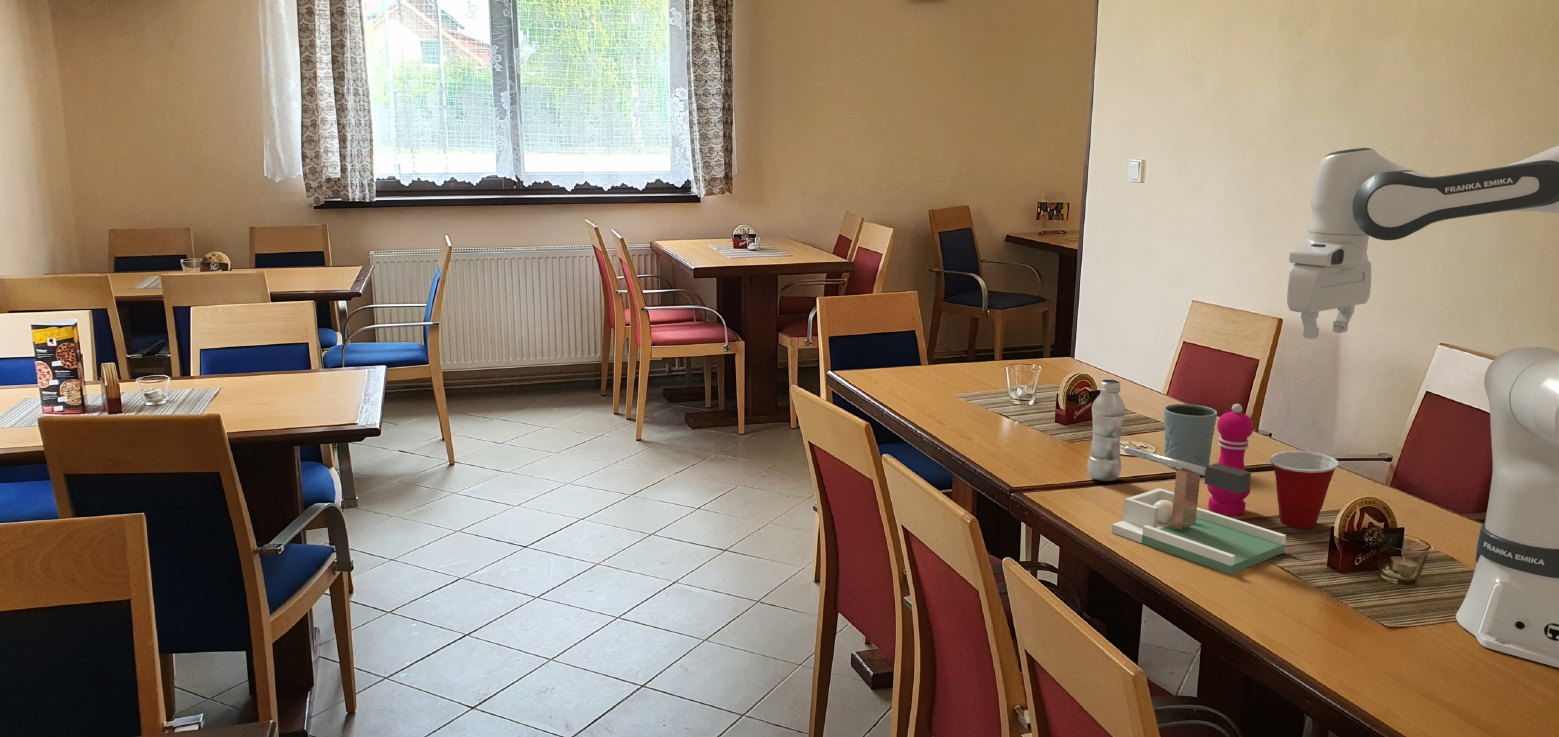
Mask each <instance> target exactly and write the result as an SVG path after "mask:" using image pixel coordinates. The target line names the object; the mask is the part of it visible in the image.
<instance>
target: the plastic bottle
mask: <svg viewBox="0 0 1559 737" xmlns="http://www.w3.org/2000/svg"><path fill="white" fill-rule="evenodd" d="M1099 390H1100V391H1101V392H1100V394H1098V396H1097V397H1096V398H1095V400H1094V401H1092V402H1093V403H1092V405H1091V415H1092V416H1091V418H1092V441H1091V447H1090V452H1089V453H1090V454H1089V455H1088V460H1087V466H1086V467H1087V474H1088V475H1089V477H1090V478H1091V479H1093V480H1098V481H1100V482H1101V481H1102V482H1110V481H1116V480H1117V479H1118V478H1119V477H1120V474H1121V472H1122V460H1121V434H1122V428H1123V425H1124V419H1125V415H1126V405H1125V403H1124V400H1123V399H1122V397H1121V395H1120V394H1119V393H1120V392H1121V381H1120V380H1116V379H1101V381H1100V387H1099Z"/></svg>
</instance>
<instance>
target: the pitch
mask: <svg viewBox="0 0 1559 737" xmlns="http://www.w3.org/2000/svg"><path fill="white" fill-rule="evenodd" d="M1160 500H1168V501H1170V502H1172V503H1173V501H1174V491H1170V490H1167V489H1164V488H1160V487H1159V488H1156V489H1155V488H1154V489H1152V490H1149V491H1145V492H1143V493H1140V494H1136V495H1132V496H1129V497H1127V498H1124V504H1123V505H1124V506H1123V515H1122V516H1123V518H1122V521H1118V522H1115V523H1111V533H1112V534H1114V535H1118V536H1120V537H1123V538H1126V539H1129V540H1132V541H1135V542H1136V543H1140V544H1142V545H1145V546H1149V547H1150V548H1154V549H1156V550H1160V551H1161V552H1162V551H1163V552H1165V553H1168V554H1170V555H1171V554H1172V555H1174V556H1175V557H1179V558H1181V559H1184V560H1186V561H1191V562H1193V563H1196V564H1198V565H1201V566H1203V567H1207V568H1210V569H1213V570H1215V571H1218V572H1221V573H1224V574H1226V575H1228V576H1230V575H1233V574H1236V573H1238V572H1240V571H1243V570H1245V569H1248V568H1250V567H1252V566H1254V565H1257V564H1260V563H1262V562H1264V561H1266V560H1269V559H1271V558H1273V557H1276V556H1278V555H1281V554H1284V553H1285V548H1286V539H1287V534H1284V533H1282V532H1277V531H1275V530H1271V529H1269V528H1268V529H1267V528H1264V527H1261V526H1259V525H1255V524H1252V523H1249V522H1246V521H1242V520H1239V519H1236V518H1233V517H1229V516H1228V515H1223V514H1219V513H1216V512H1213V511H1211V510H1209V509H1208V510H1207V509H1204V508H1201V507H1197V513H1196V523H1195V525H1193V526H1190V527H1187V528H1184V529H1179V528H1176V527H1173V526H1171V522H1172V521H1171V522H1169V523H1160V522H1158V521H1157V520H1158V509H1159V507H1156V506H1153V505H1154V504H1155V503H1156V502H1157V501H1160Z"/></svg>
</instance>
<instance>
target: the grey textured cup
mask: <svg viewBox="0 0 1559 737" xmlns="http://www.w3.org/2000/svg"><path fill="white" fill-rule="evenodd" d="M1163 412H1164V413H1163V414H1164V416H1163V417H1164V421H1163V422H1164V456H1166V457H1169V458H1173V459H1177V460H1180V461H1184V462H1187V463H1191V464H1195V465H1198V466H1202V467H1205V468H1206V466H1209V465H1210V459H1211V453H1212V451H1211V450H1212V445H1213V439H1214V434H1215V426H1216V422H1217V421H1216V420H1217V417H1218V411H1217V410H1215V409H1214V408H1211V407H1208V406H1204V405H1198V404H1189V403H1175V404H1170V405H1166V406H1165V407H1164V408H1163ZM1165 466H1167V467H1168V468H1170V469H1173V470H1175V471H1177V470H1180V469H1178V468H1175V467H1171V466H1168V465H1165Z"/></svg>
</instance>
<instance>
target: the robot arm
mask: <svg viewBox="0 0 1559 737" xmlns="http://www.w3.org/2000/svg"><path fill="white" fill-rule="evenodd" d="M1310 202H1311V203H1310V206H1311V211H1312V214H1311V220H1310V223H1309V225H1308V228H1307V235H1306V238H1305V239H1303V240H1302V242H1300V243H1299V244H1297V245H1296V246H1295V247H1293V248H1292V249H1291V250H1290V251H1289V257H1288V260H1289V263H1291V264H1293V265H1292V266H1291V267H1290V269H1289V274H1288V279H1287V280H1288V281H1287V282H1288V283H1287V292H1286V293H1287V294H1286V302H1287V303H1286V304H1287V307H1288V309H1289V311H1291V312H1295V313H1300V314H1301V315H1300V318H1301V322H1302V325H1303V326H1302V327H1303V334H1302V336H1303V338H1305V339H1309V340H1311V339H1312V340H1313V339H1317V338H1319V332H1320V327H1318V324H1317V319H1318V318H1319V314H1320V313H1319V312H1324V311H1328V310H1336V309H1337V311H1338V312H1337V316H1336V320H1334V321H1333V322H1332V323H1333V324H1332V331H1333V332H1334V333H1338V334H1343V333H1347V332H1348V330H1349V323H1350V320H1351V319H1352V316H1353V315H1354V312H1355V307H1356V306H1359V305H1365V304H1367V302H1368V300H1369V299H1370V296H1371V289H1372V287H1371V286H1372V264H1371V262H1370V261H1369V260H1368V247H1369V246H1368V245H1369V239H1370V238H1369V237H1371V238H1374V239H1377V240H1380V241H1395V240H1396V241H1397V240H1399V239H1400V240H1401V239H1404V238H1406V237H1409V236H1411V235H1412V234H1414V233H1416V232H1419V231H1421V230H1423V229H1425V228H1427V227H1428V226H1430V225H1432V224H1434V223H1438V222H1441V221H1447V220H1452V219H1458V218H1459V219H1460V218H1465V217H1466V218H1467V217H1473V216H1480V215H1486V214H1488V215H1489V214H1493V213H1499V212H1500V213H1502V212H1516V211H1517V212H1518V211H1519V212H1520V211H1522V212H1524V211H1525V212H1539V213H1540V212H1541V213H1550V214H1552V213H1553V214H1559V145H1556V146H1553V147H1551V148H1548V149H1546V150H1544V151H1541V152H1539V153H1537V154H1534V155H1532V156H1529V157H1527V158H1525V159H1522V160H1519V161H1516V162H1513V163H1509V164H1506V165H1502V166H1497V167H1493V168H1486V169H1480V170H1474V171H1469V172H1467V171H1466V172H1463V173H1462V172H1461V173H1454V174H1448V175H1441V176H1440V175H1439V176H1429V175H1428V174H1425V173H1422V172H1419V171H1417V170H1413V169H1410V168H1407V167H1404V166H1402V165H1399V164H1397V163H1395V162H1393V161H1391V160H1389V159H1387V158H1385V157H1383V155H1380V154H1379V153H1378V152H1377V151H1376V150H1375V149H1373V148H1370V147H1359V148H1358V147H1357V148H1351V149H1350V148H1349V149H1343V150H1342V149H1341V150H1338V151H1333V152H1329V154H1326V155H1325V156H1324V157H1323V158H1321V160H1320V161H1319V164H1318V166H1317V169H1316V173H1315V177H1314V183H1313V187H1312V194H1311V199H1310ZM1483 383H1484V384H1483V385H1484V390H1485V392H1486V396H1487V399H1488V404H1489V416H1490V418H1489V419H1490V437H1491V438H1490V439H1491V453H1492V470H1491V471H1492V474H1491V482H1490V490H1489V496H1488V497H1489V498H1488V504H1487V509H1486V516H1485V521H1484V523H1482V524H1481V526H1480V529H1479V533H1478V536H1477V541H1476V546H1475V554H1476V555H1475V563H1476V566H1475V569H1474V572H1473V576H1472V578H1471V582H1470V585H1469V588H1468V591H1467V593H1466V595H1465V597H1464V599H1463V602H1462V603H1461V605H1460V607H1459V609H1458V611H1457V613H1456V614H1455V619H1456V621H1457V622H1458V623H1459V625H1460V626H1461V627H1462V628H1463V629H1465V630H1466V631H1468V632H1469V633H1470V634H1471V635H1473V636H1474V637H1475V638H1476V640H1477V641H1478V643H1479V644H1480V645H1481V646H1482V647H1484V648H1487V649H1489V650H1490V649H1491V650H1493V651H1497V652H1500V653H1504V654H1508V655H1510V656H1511V655H1512V656H1515V657H1518V658H1522V659H1526V660H1529V661H1533V662H1536V663H1540V664H1545V665H1548V666H1551V667H1553V668H1554V667H1555V668H1558V669H1559V350H1556V349H1555V348H1554V349H1553V348H1548V347H1543V346H1542V347H1541V346H1540V347H1539V346H1525V347H1516V348H1511V349H1508V350H1506V351H1503V352H1502V353H1501V354H1499V355H1498V356H1496V358H1494V359H1493V360H1492V361H1491V362H1490V363H1489V365H1488V367H1487V368H1486V371H1485V374H1484V379H1483Z"/></svg>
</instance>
